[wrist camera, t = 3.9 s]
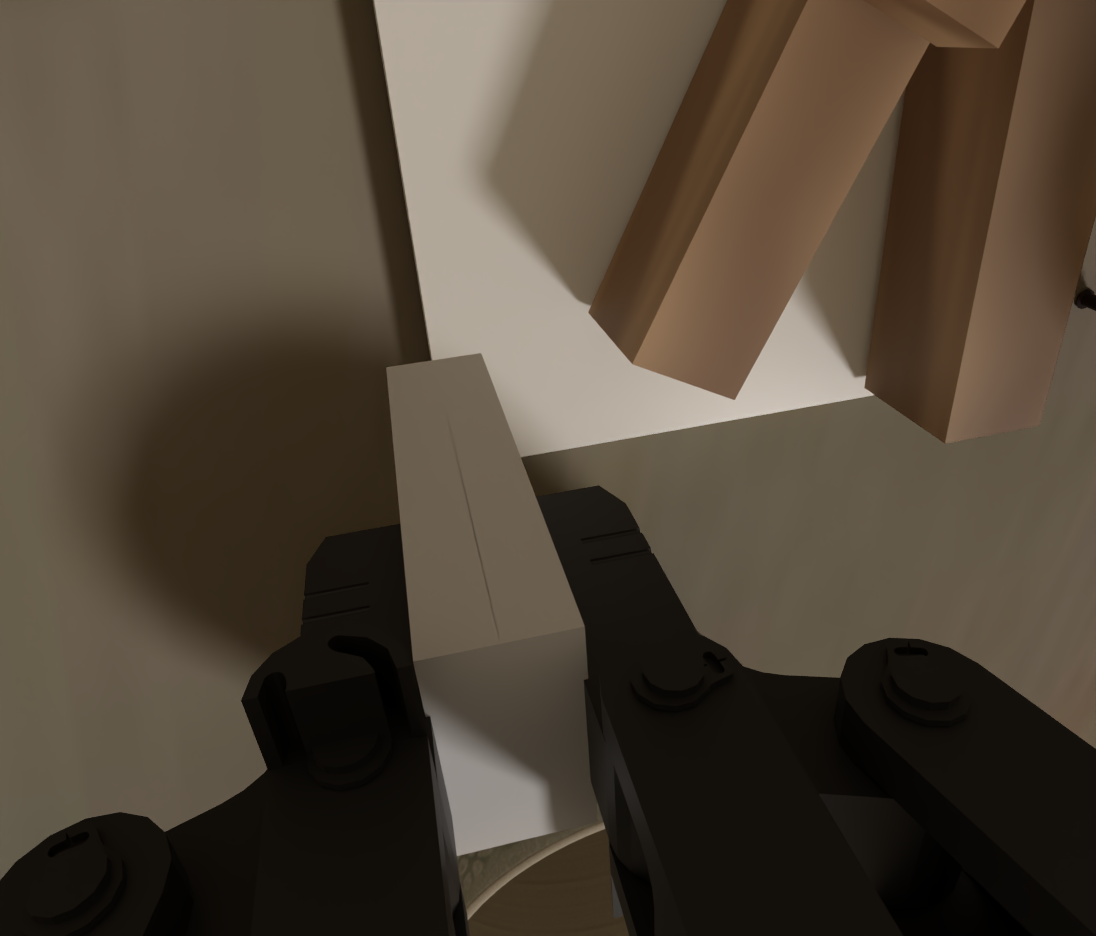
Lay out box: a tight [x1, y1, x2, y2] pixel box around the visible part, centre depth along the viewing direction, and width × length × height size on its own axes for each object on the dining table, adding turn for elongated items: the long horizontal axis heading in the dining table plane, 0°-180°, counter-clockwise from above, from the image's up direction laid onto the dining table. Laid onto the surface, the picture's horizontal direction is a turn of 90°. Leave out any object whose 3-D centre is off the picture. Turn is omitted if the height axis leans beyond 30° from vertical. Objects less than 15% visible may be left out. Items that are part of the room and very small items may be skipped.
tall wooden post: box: [864, 0, 1096, 443], centre depth 20 cm, size 4×15×6 cm, turn 4°
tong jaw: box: [588, 0, 1026, 400], centre depth 18 cm, size 8×16×6 cm, turn 156°
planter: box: [457, 631, 701, 936], centre depth 26 cm, size 12×12×11 cm
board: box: [372, 0, 906, 457], centre depth 21 cm, size 17×16×1 cm
